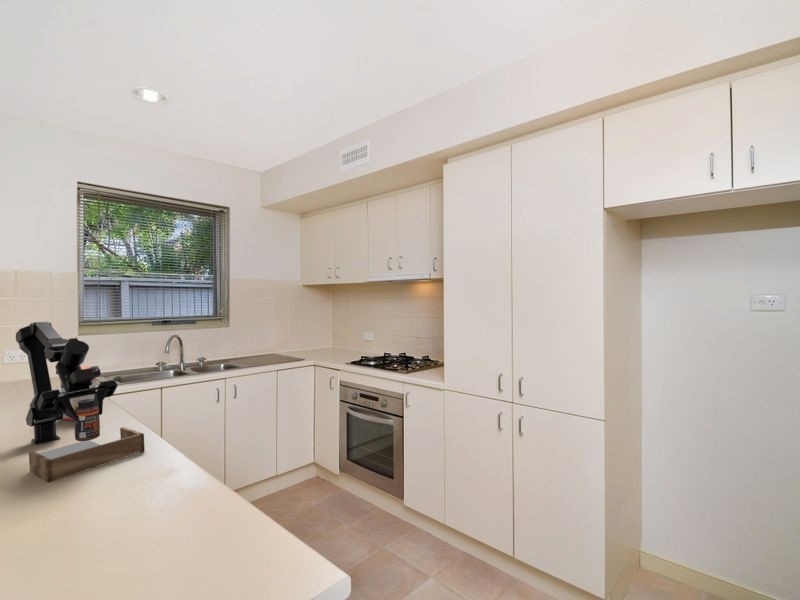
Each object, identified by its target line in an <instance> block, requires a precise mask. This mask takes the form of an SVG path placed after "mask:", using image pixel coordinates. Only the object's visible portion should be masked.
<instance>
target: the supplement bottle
mask: <svg viewBox="0 0 800 600" xmlns="http://www.w3.org/2000/svg"><path fill="white" fill-rule="evenodd" d="M75 413H76V415H77V420H76V421H73V422H74V439H75V441H77V442H82V441H88V440H90V441H92V440H95V439H97V438H99V437H100V436H101V427H100V426H101V421H100V414H99V407H98V406H96V405H95V399H86V400H81V401H79V402H78V408H77V409H76V410H75Z"/></svg>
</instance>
